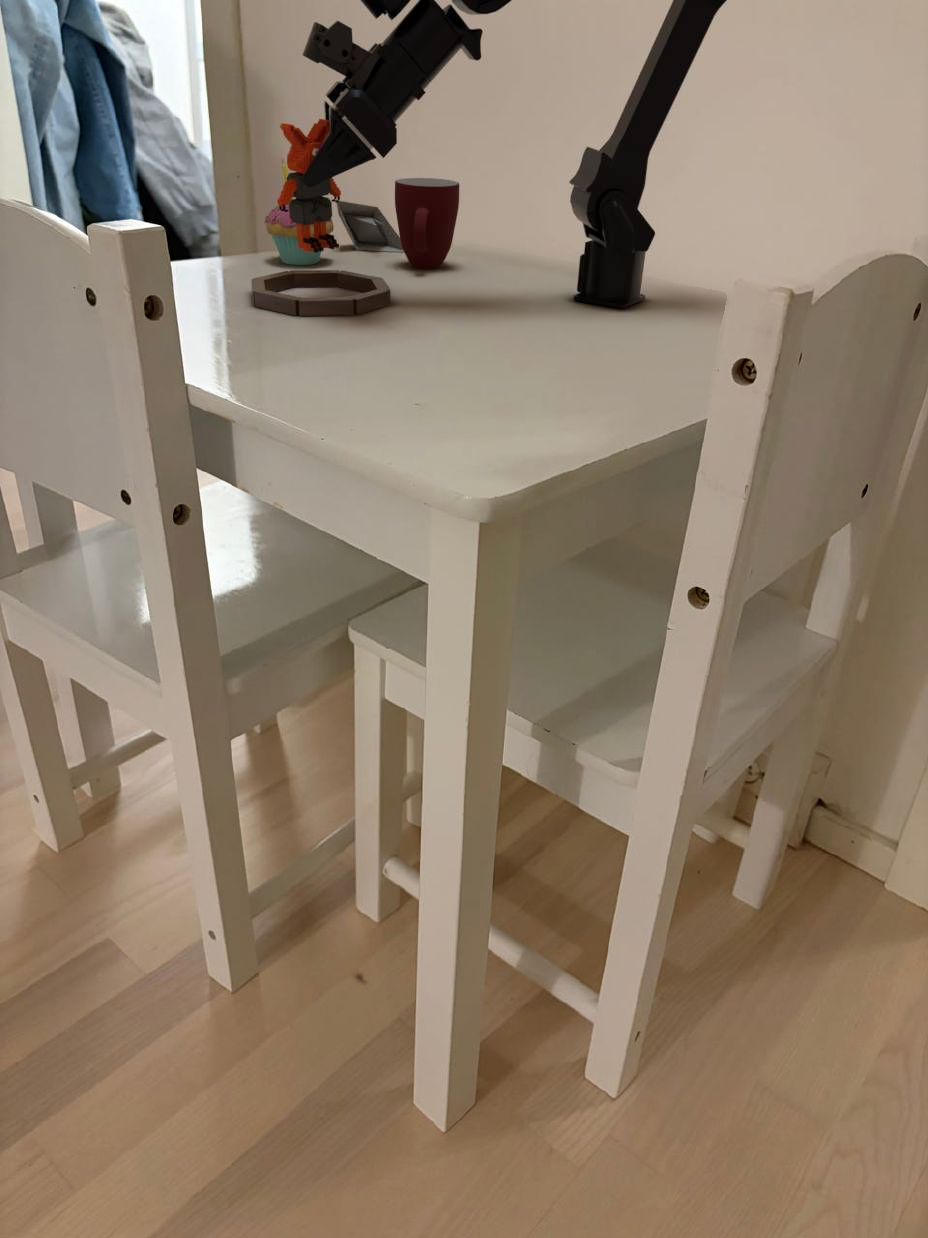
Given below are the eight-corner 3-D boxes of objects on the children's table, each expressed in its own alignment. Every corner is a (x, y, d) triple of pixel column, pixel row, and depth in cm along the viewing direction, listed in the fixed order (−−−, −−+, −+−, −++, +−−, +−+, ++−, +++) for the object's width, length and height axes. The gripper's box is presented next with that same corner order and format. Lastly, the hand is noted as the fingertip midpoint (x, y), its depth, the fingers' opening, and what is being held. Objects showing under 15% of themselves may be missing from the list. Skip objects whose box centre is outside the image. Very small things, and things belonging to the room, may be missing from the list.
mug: (458, 277, 118) (461, 190, 113) (393, 275, 118) (393, 187, 112) (456, 260, 127) (458, 178, 122) (395, 258, 127) (395, 176, 121)
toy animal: (309, 259, 98) (300, 130, 91) (276, 250, 101) (264, 123, 94) (366, 246, 103) (362, 122, 96) (333, 237, 106) (326, 116, 99)
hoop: (413, 298, 108) (413, 283, 107) (329, 323, 97) (329, 307, 96) (313, 278, 115) (312, 264, 114) (224, 300, 104) (222, 284, 103)
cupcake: (254, 263, 121) (247, 158, 114) (289, 252, 127) (284, 153, 121) (314, 271, 118) (310, 164, 112) (346, 259, 125) (344, 158, 119)
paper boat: (405, 233, 136) (429, 226, 128) (385, 274, 137) (409, 269, 128) (332, 185, 130) (353, 173, 122) (312, 228, 131) (332, 219, 123)
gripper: (343, -9, 98) (243, 110, 102) (358, -16, 83) (240, 124, 87) (418, 80, 104) (321, 190, 108) (445, 89, 88) (331, 217, 92)
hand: (303, 179), depth 98 cm, fingers closed on toy animal, 5 cm apart
